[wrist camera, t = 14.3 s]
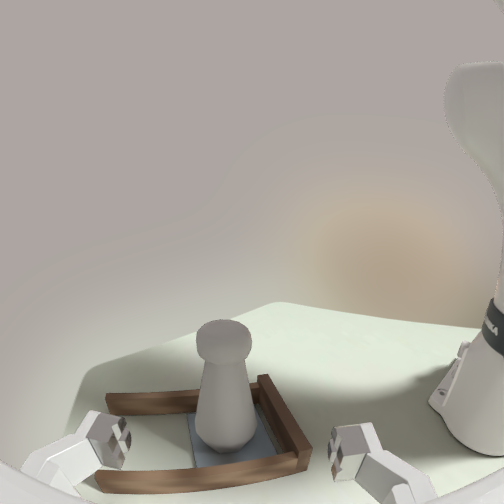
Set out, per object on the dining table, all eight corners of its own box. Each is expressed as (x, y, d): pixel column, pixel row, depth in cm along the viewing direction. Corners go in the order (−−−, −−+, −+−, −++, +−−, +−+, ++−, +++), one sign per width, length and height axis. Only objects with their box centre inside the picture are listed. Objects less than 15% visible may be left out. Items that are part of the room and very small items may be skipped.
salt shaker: (186, 432, 26) (172, 320, 23) (232, 413, 30) (231, 305, 27) (218, 469, 22) (211, 354, 19) (268, 443, 25) (277, 330, 22)
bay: (266, 396, 33) (267, 373, 32) (306, 470, 22) (312, 448, 21) (111, 409, 28) (104, 386, 27) (103, 492, 17) (90, 471, 16)
